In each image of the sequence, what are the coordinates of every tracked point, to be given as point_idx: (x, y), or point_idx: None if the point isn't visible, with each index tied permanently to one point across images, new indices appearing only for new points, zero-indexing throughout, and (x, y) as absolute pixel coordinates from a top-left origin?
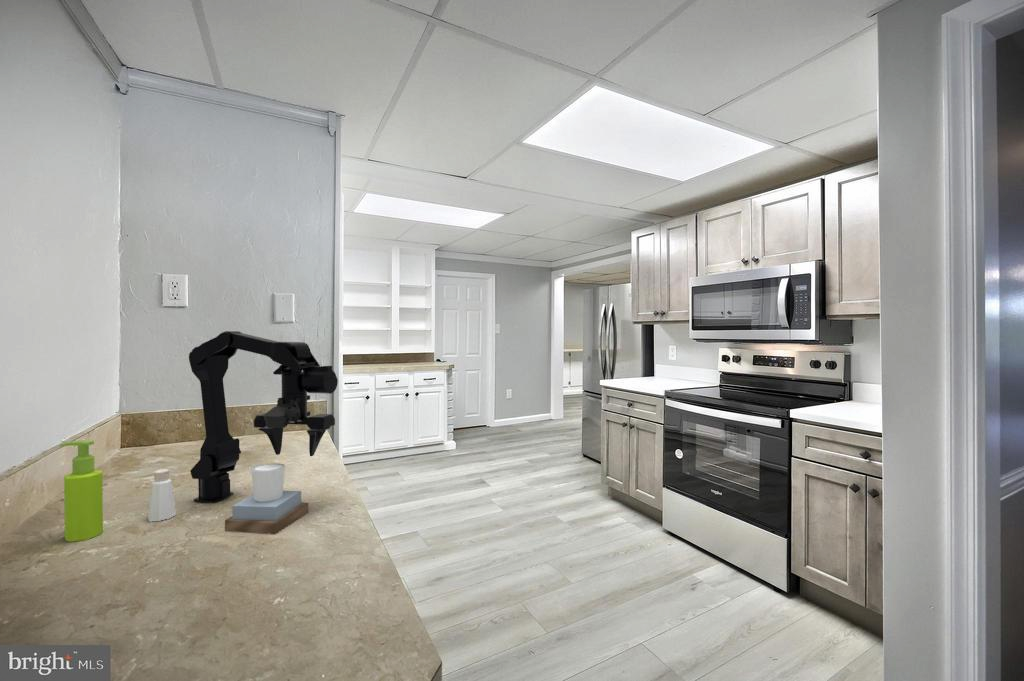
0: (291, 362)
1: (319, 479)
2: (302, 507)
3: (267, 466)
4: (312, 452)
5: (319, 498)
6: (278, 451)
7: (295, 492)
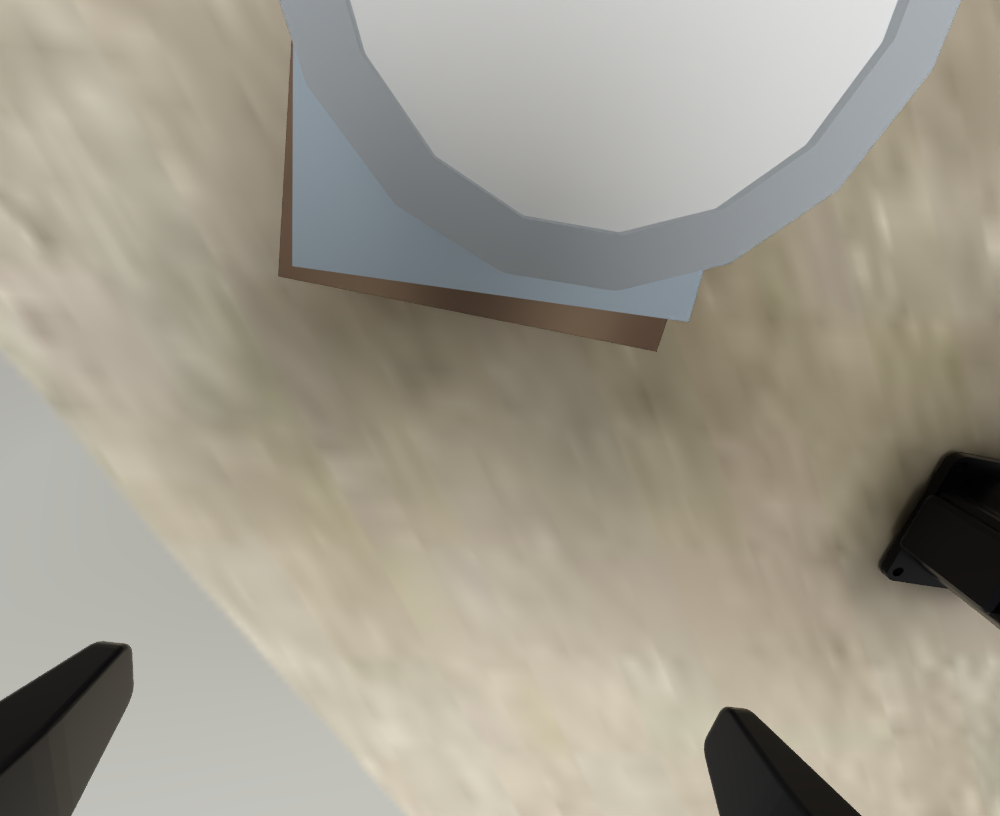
0: None
1: (492, 759)
2: (285, 189)
3: (692, 25)
4: (22, 704)
5: (354, 506)
6: (739, 769)
7: (329, 226)
